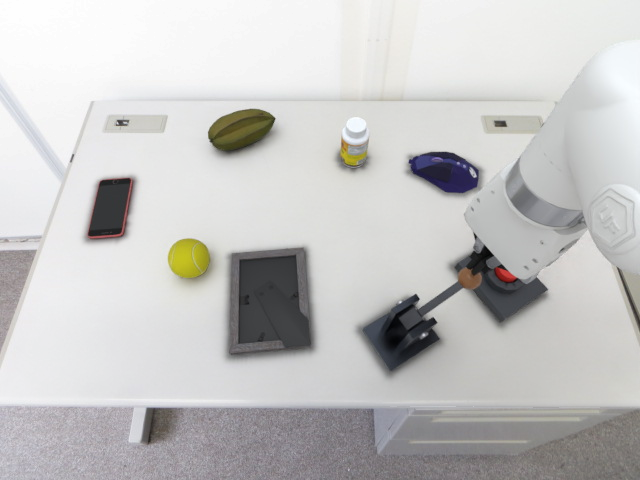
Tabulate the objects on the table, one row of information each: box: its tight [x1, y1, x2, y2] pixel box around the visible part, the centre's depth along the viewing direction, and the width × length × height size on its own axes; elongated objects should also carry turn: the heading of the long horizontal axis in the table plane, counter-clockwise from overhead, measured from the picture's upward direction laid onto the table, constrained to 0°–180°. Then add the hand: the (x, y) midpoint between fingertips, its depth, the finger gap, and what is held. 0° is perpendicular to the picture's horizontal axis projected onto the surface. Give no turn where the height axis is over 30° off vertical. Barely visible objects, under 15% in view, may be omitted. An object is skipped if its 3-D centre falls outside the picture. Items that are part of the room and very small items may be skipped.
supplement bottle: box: [340, 116, 371, 169], centre depth 77 cm, size 6×6×10 cm
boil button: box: [495, 267, 517, 282], centre depth 64 cm, size 4×4×2 cm
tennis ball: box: [167, 237, 211, 279], centre depth 67 cm, size 7×7×7 cm
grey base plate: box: [454, 254, 549, 323], centre depth 66 cm, size 12×10×4 cm
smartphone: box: [86, 177, 133, 239], centre depth 76 cm, size 7×1×14 cm
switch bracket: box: [362, 293, 441, 373], centre depth 58 cm, size 10×8×12 cm
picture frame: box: [228, 247, 312, 356], centre depth 66 cm, size 13×2×18 cm
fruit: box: [207, 108, 276, 151], centre depth 81 cm, size 11×12×7 cm
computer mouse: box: [408, 151, 480, 194], centre depth 78 cm, size 9×15×4 cm, turn 75°
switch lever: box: [399, 268, 482, 331], centre depth 54 cm, size 13×3×3 cm, turn 121°
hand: (478, 266), depth 50 cm, fingers closed
